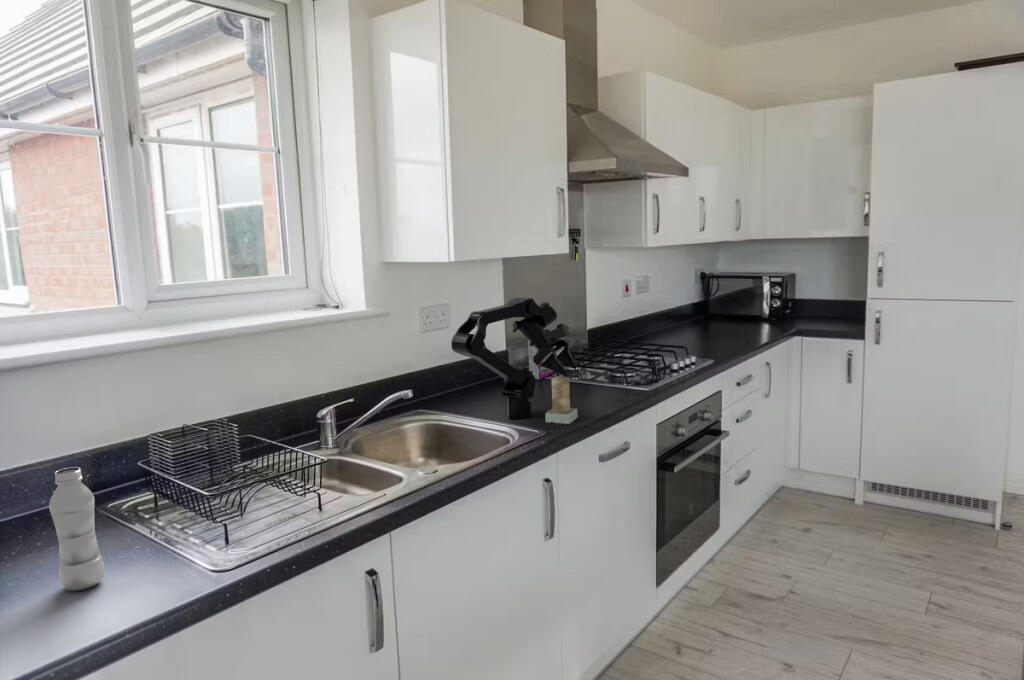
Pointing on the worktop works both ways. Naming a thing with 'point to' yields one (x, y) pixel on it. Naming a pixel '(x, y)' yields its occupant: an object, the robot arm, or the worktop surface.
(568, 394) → the tan wooden block
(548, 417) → the open square box
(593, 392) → the worktop surface
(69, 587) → the plastic bottle
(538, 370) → the candy bar box
